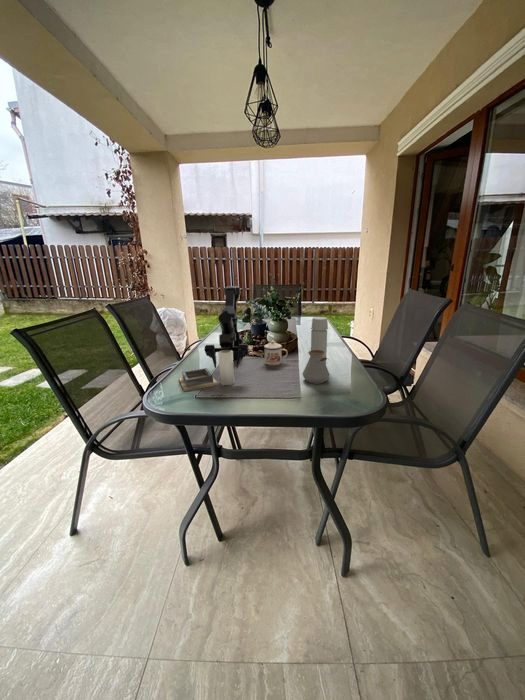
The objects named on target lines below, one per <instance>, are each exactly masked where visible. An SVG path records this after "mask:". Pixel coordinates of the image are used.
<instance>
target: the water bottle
mask: <svg viewBox="0 0 525 700" xmlns="http://www.w3.org/2000/svg"><path fill="white" fill-rule="evenodd" d="M328 323H329V322H328V317H325V316H324V317H323V316H317V317H316V316H315V317H312V320H311V327H310V330H311V332H310V335H311V336H310V351H311V350H321V351H324V354H323V358H324V357H325V358H327V347H328V330H329V327H328V326H329V324H328ZM324 362H325V364H326V365H327V360H325V361H324Z"/></svg>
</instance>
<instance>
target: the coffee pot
mask: <svg viewBox="0 0 525 700" xmlns="http://www.w3.org/2000/svg"><path fill="white" fill-rule="evenodd" d="M307 353H308V354H309V358H308V360H307V362H306V365H305V367H304V369H303V372H302V377H303V379H304V380H305V381H307V382H308V383H310V384H315V385H317V384H324V382H326V381H327V380H329V378H330V372H329V369H328V367H327V363H326V364H325V362H324V361H325V360H326V361H327V360H328V357H326V358H325V357H324V358H323V354H324V351H321V350H311V349H310V350H309V351H308V352H307Z"/></svg>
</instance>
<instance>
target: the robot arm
mask: <svg viewBox="0 0 525 700" xmlns="http://www.w3.org/2000/svg"><path fill="white" fill-rule="evenodd" d="M241 294H242V293H241V287H239V286H238V285H234V286H233V285H228V286H226V287H224V288H223V295H224V296H225V302H224V303H225V304H224V308H223V309H222V310H221V313H220V314H219V315H218V317H217V318H218V322H219V326H220V329H221V334H219V335H218V337H219V346H220V347H216V346H215V344H206V345H204V353H205V355H206V356H207V357H209V358H210V359H212V363H213V367H214V369H217V355H216V353H218V352H219V351H222V350H232V351H233V360H236V368H238V367H239V366H240V364H241V361H242V360H243V359H244V358H246V356H248V355H249V354H250V352H249V351H250V350H249V344H247V343H244V340H243V339H242V337H241V334H240V332H239V330H238V320H239V317H238V305H237V304H238V302H239V300H240V296H241Z"/></svg>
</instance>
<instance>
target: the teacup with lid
mask: <svg viewBox="0 0 525 700" xmlns="http://www.w3.org/2000/svg"><path fill="white" fill-rule="evenodd" d="M263 349H264V364H266V365H267V364H268V366H279V365H280V364H282V362H283V361H282V359H285V358H286V357H288V354H289V353H288V350H287V349H285V348H283V346H282V344H280V343H277V342H276V341H275V340H271V341H270V342H269V343H267V344H265V345H264V346H263ZM282 351H285V355H284V356H282Z"/></svg>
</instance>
